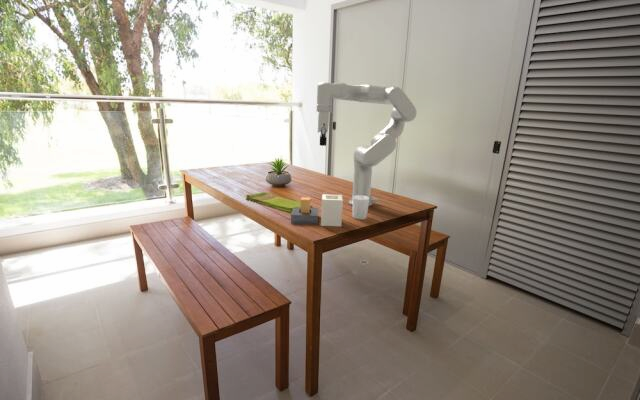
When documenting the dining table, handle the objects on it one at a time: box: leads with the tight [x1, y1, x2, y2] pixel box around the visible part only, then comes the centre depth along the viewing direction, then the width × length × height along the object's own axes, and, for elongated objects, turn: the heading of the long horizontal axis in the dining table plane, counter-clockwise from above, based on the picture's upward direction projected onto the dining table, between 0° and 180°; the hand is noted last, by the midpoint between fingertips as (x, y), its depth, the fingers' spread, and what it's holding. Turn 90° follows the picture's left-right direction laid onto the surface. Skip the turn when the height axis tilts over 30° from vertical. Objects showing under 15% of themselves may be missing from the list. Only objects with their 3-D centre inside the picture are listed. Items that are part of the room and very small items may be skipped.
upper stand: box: [320, 193, 344, 227], centre depth 148 cm, size 9×9×12 cm
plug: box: [300, 196, 311, 213], centre depth 151 cm, size 4×4×9 cm
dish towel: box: [245, 191, 314, 214], centre depth 175 cm, size 15×36×3 cm, turn 52°
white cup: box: [351, 195, 369, 220], centre depth 156 cm, size 8×8×10 cm
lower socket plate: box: [290, 207, 319, 225], centre depth 152 cm, size 12×12×4 cm
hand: (322, 144), depth 165 cm, fingers open, 9 cm apart
